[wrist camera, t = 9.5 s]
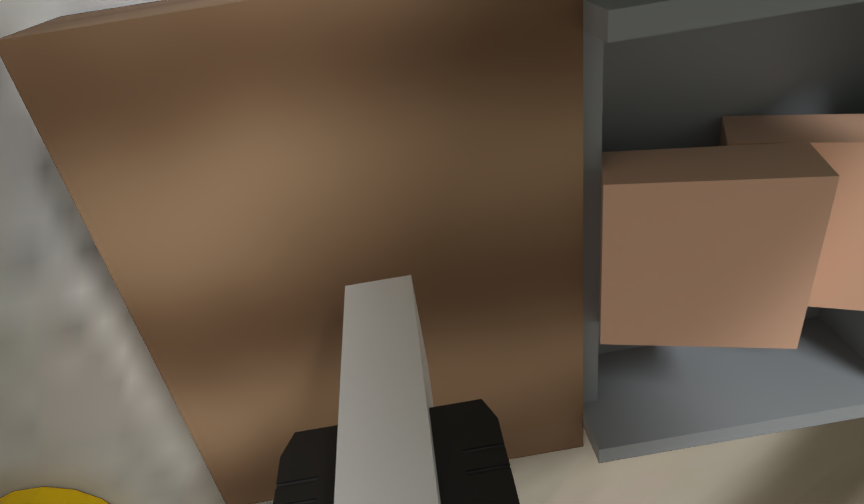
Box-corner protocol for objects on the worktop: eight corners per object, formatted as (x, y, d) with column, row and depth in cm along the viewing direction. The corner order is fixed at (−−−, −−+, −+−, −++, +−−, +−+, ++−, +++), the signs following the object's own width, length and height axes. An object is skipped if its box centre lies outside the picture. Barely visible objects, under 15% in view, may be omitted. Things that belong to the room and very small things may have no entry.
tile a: (599, 152, 16) (603, 184, 14) (808, 141, 15) (839, 175, 13) (597, 301, 18) (600, 343, 17) (774, 302, 17) (797, 348, 15)
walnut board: (59, 16, 14) (-7, 41, 12) (544, -61, 14) (583, -54, 12) (243, 437, 22) (227, 507, 19) (557, 383, 22) (583, 446, 20)
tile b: (968, 142, 13) (938, 112, 15) (727, 142, 15) (722, 115, 17) (906, 314, 16) (885, 273, 18) (706, 298, 18) (703, 262, 19)
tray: (545, -17, 15) (608, 10, 11) (926, -78, 15) (1119, -73, 11) (557, 363, 22) (599, 463, 18) (821, 318, 22) (919, 407, 18)
